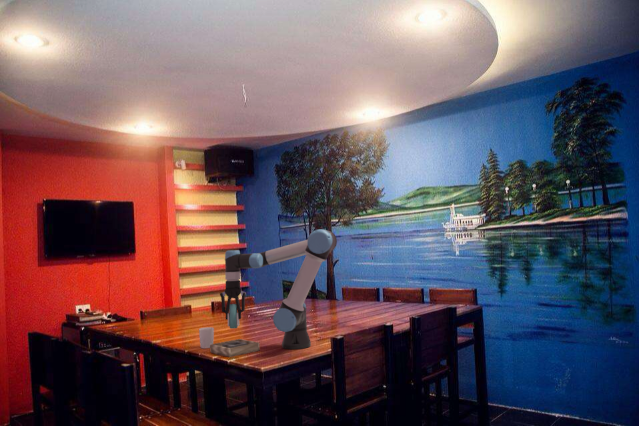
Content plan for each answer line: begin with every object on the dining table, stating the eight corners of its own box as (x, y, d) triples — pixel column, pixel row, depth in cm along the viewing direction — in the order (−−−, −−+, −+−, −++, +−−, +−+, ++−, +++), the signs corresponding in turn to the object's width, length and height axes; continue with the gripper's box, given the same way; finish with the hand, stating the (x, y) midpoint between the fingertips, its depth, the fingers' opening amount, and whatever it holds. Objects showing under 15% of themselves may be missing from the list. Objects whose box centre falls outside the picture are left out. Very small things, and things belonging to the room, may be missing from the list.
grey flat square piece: (259, 350, 240) (259, 342, 240) (229, 357, 227) (229, 348, 228) (239, 346, 253) (239, 338, 253) (210, 352, 240) (210, 344, 241)
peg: (239, 327, 241) (238, 304, 242) (232, 328, 238) (232, 305, 239) (234, 326, 244) (234, 303, 245) (228, 328, 241) (227, 304, 242)
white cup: (215, 345, 259) (215, 327, 259) (212, 348, 251) (212, 329, 252) (201, 346, 258) (200, 327, 259) (197, 349, 250) (197, 330, 251)
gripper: (250, 279, 246) (251, 324, 245) (218, 280, 247) (219, 325, 245) (247, 280, 239) (248, 326, 237) (214, 281, 239) (215, 327, 238)
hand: (233, 325), depth 241 cm, fingers closed on peg, 4 cm apart
